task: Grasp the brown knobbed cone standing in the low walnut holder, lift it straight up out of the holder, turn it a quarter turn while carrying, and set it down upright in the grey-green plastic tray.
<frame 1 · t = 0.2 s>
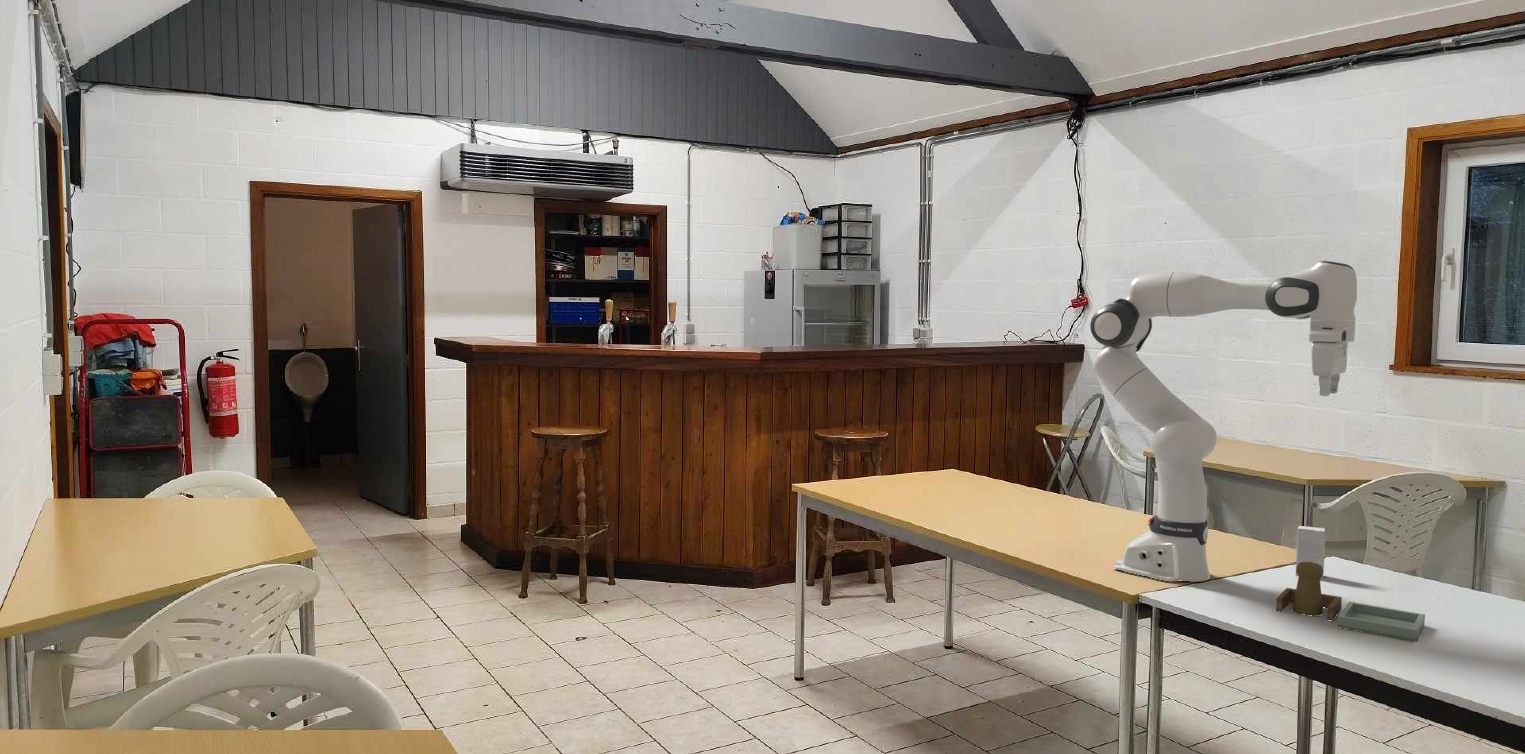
hand: (1328, 394, 228), 47 cm above the table, tool pointing down, fingers open, 8 cm apart
holder: (1307, 612, 221), on the table
tray: (1380, 626, 212), on the table
skincare box: (1309, 576, 252), on the table
brown knobbed cone: (1307, 613, 221), on the table
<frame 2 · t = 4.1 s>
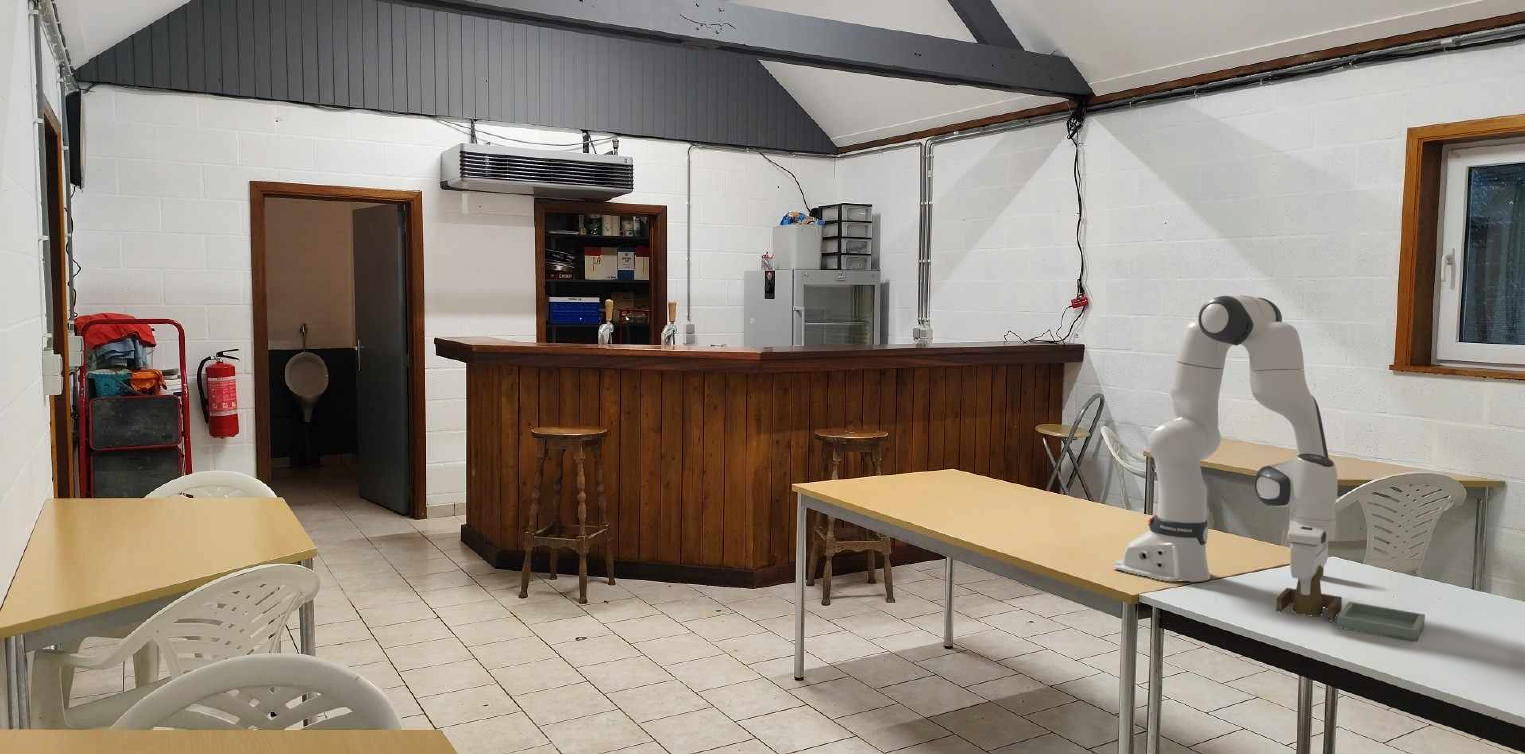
hand: (1308, 591, 221), 5 cm above the table, tool pointing down, fingers closed on brown knobbed cone, 4 cm apart
brown knobbed cone: (1307, 612, 221), on the table, touching gripper
everything else where it was.
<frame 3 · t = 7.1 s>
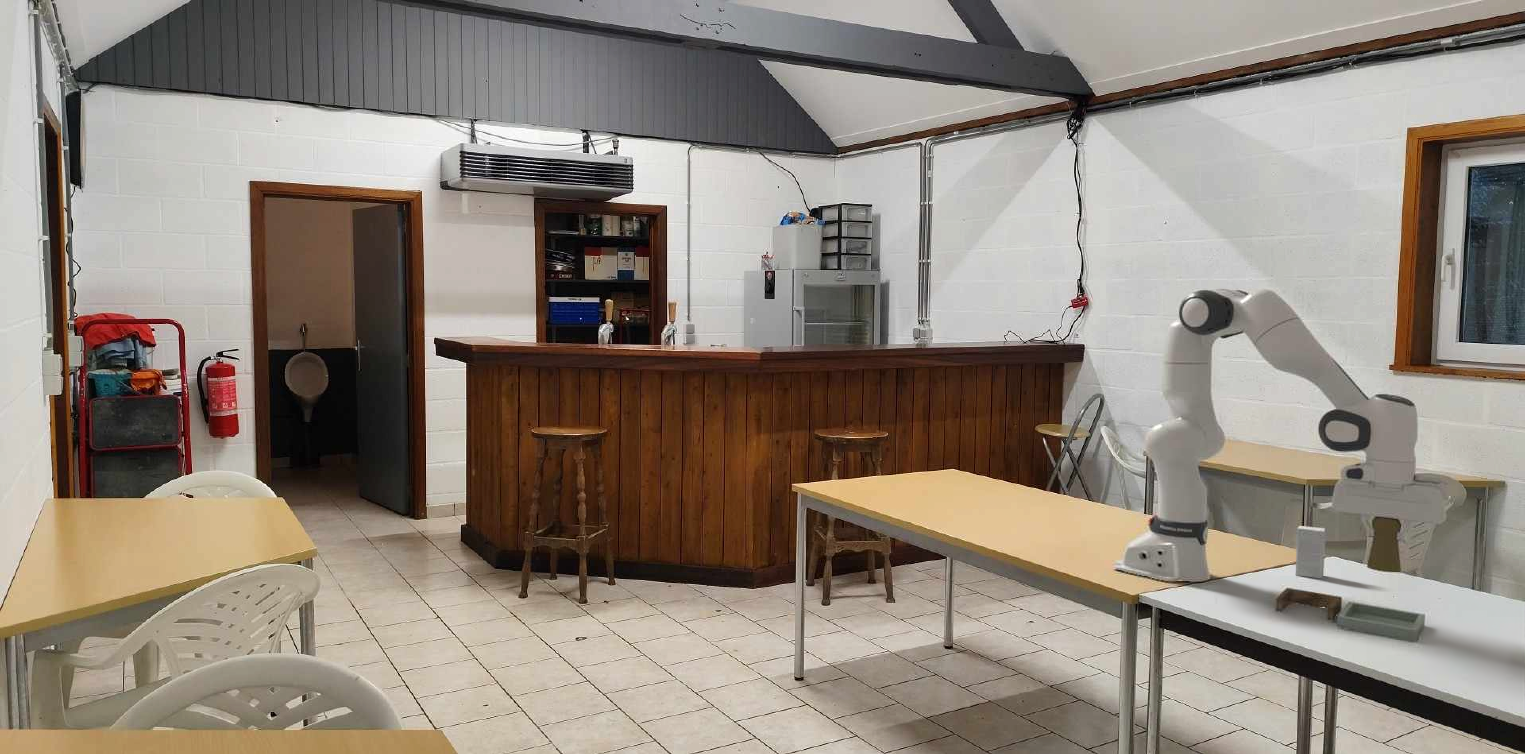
hand: (1385, 538, 210), 19 cm above the table, tool pointing down, fingers closed on brown knobbed cone, 4 cm apart
brown knobbed cone: (1383, 569, 211), point 12 cm above the table, touching gripper
everything else where it was.
when the fingers open (7 cm above the table, at t = 10.0 s): brown knobbed cone stays where it is, resting on tray.
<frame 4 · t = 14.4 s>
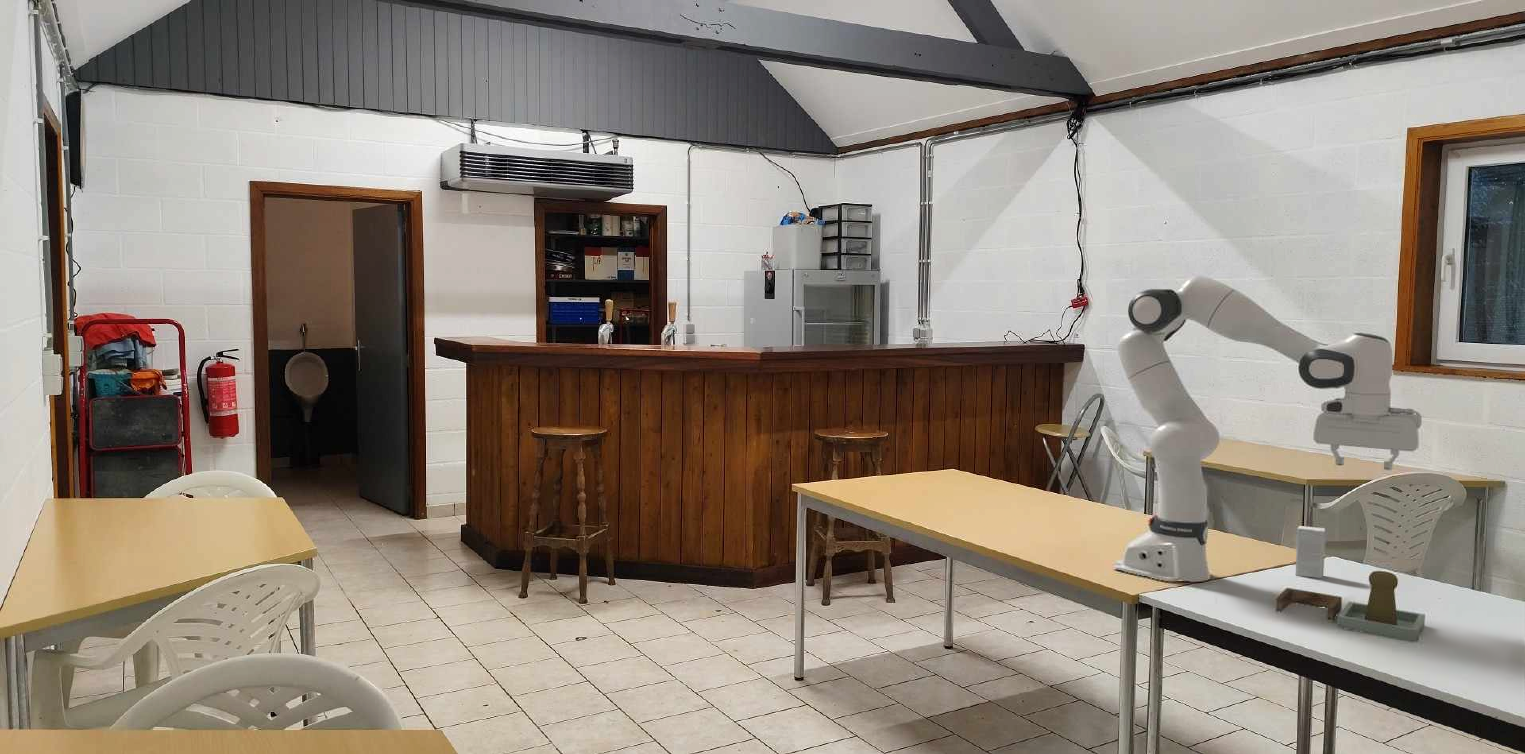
hand: (1363, 467, 226), 31 cm above the table, tool pointing down, fingers open, 8 cm apart
brown knobbed cone: (1380, 624, 212), resting on tray
everything else where it was.
at the end: brown knobbed cone inside the target area on the tray (0.1 cm from its centre), point 0.4 cm above the tray's base; brown knobbed cone tilted 0°; the gripper is holding nothing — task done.
